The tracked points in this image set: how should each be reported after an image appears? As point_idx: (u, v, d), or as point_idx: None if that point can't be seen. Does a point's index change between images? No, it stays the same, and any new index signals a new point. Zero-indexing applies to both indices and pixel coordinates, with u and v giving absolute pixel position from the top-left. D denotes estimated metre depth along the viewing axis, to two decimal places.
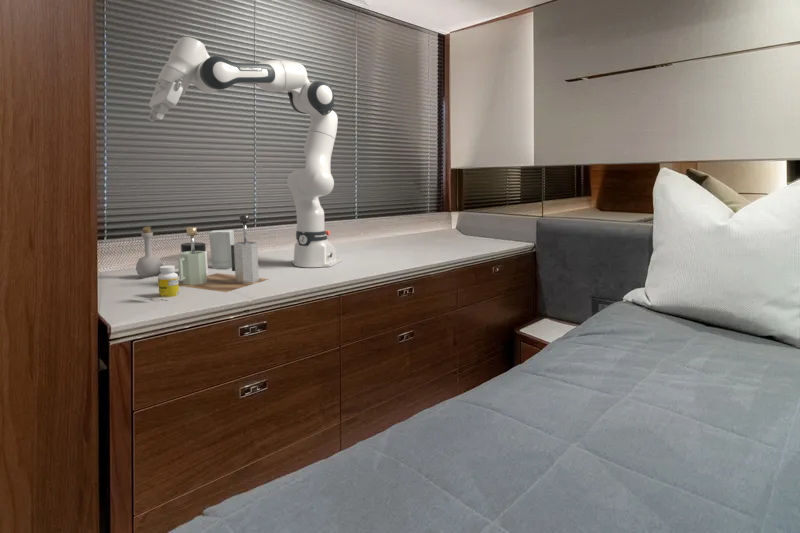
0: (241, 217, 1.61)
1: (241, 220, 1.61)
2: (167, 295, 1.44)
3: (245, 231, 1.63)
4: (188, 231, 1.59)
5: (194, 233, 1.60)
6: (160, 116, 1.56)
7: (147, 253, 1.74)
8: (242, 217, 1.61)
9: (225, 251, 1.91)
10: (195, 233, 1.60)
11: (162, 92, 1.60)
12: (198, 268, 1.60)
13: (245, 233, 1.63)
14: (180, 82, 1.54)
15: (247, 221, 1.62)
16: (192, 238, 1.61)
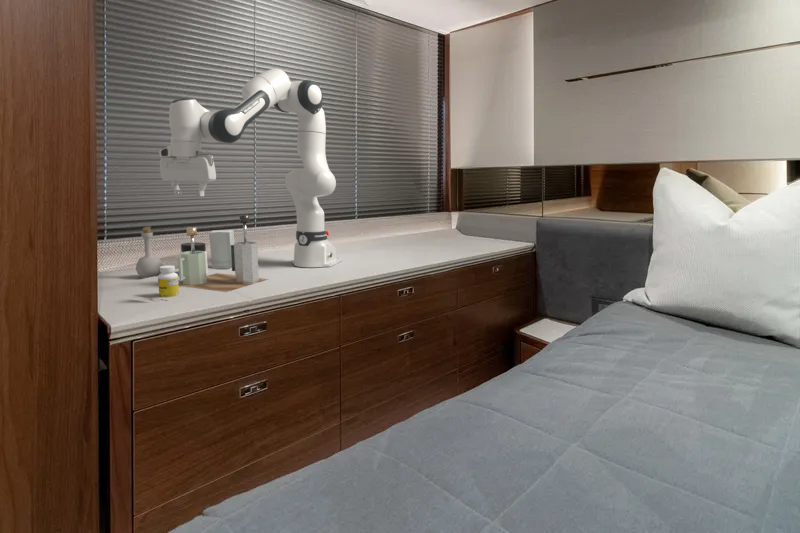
0: (241, 217, 1.61)
1: (241, 220, 1.61)
2: (167, 295, 1.44)
3: (245, 231, 1.63)
4: (188, 231, 1.59)
5: (194, 233, 1.60)
6: (202, 193, 1.56)
7: (147, 253, 1.74)
8: (242, 217, 1.61)
9: (225, 251, 1.91)
10: (195, 233, 1.60)
11: (184, 167, 1.55)
12: (198, 268, 1.60)
13: (245, 233, 1.63)
14: (211, 156, 1.52)
15: (247, 221, 1.62)
16: (192, 238, 1.61)
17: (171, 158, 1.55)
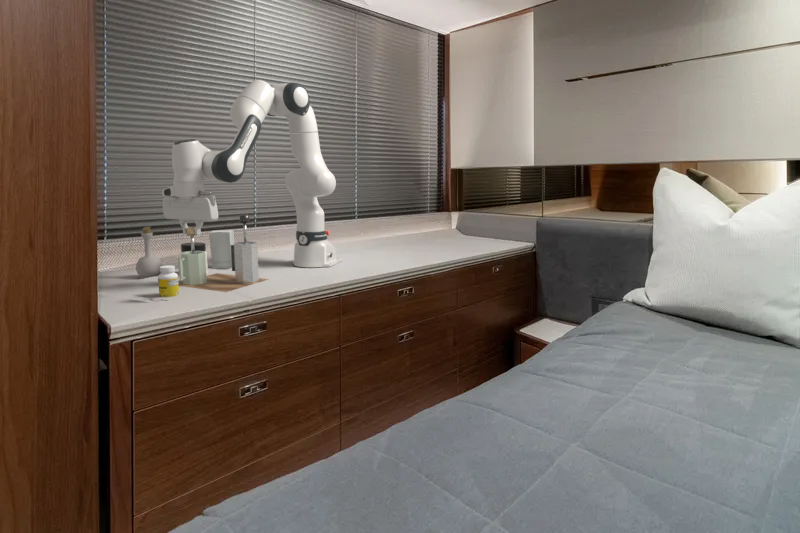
0: (241, 217, 1.61)
1: (241, 220, 1.61)
2: (167, 295, 1.44)
3: (245, 231, 1.63)
4: (188, 231, 1.59)
5: None
6: (199, 232, 1.60)
7: (147, 253, 1.74)
8: (242, 217, 1.61)
9: (225, 251, 1.91)
10: None
11: (187, 206, 1.58)
12: (198, 268, 1.60)
13: (245, 233, 1.63)
14: (214, 196, 1.55)
15: (247, 221, 1.62)
16: (192, 238, 1.61)
17: (174, 198, 1.58)
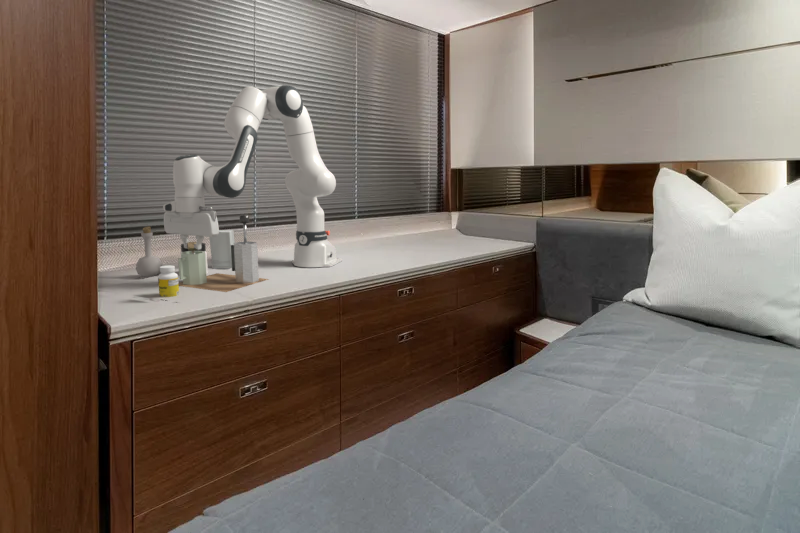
0: (241, 217, 1.61)
1: (241, 220, 1.61)
2: (167, 295, 1.44)
3: (245, 231, 1.63)
4: (189, 246, 1.60)
5: None
6: (199, 247, 1.60)
7: (147, 253, 1.74)
8: (242, 217, 1.61)
9: (225, 251, 1.91)
10: None
11: (188, 221, 1.58)
12: (198, 268, 1.60)
13: (245, 233, 1.63)
14: (215, 212, 1.55)
15: (247, 221, 1.62)
16: (193, 253, 1.62)
17: (175, 213, 1.58)
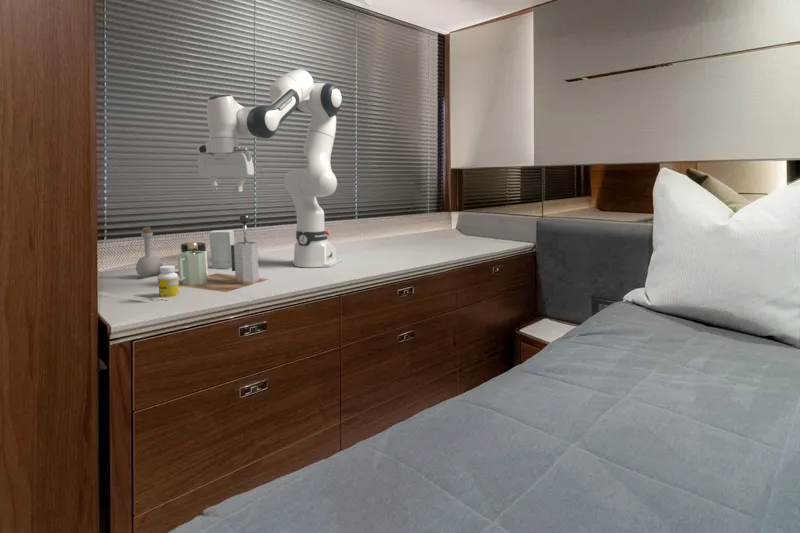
0: (241, 217, 1.61)
1: (241, 220, 1.61)
2: (167, 295, 1.44)
3: (245, 231, 1.63)
4: (189, 246, 1.60)
5: (195, 248, 1.61)
6: (240, 189, 1.58)
7: (147, 253, 1.74)
8: (242, 217, 1.61)
9: (225, 251, 1.91)
10: (196, 248, 1.61)
11: (222, 163, 1.57)
12: (198, 268, 1.60)
13: (245, 233, 1.63)
14: (250, 152, 1.54)
15: (247, 221, 1.62)
16: (193, 253, 1.62)
17: (209, 154, 1.57)
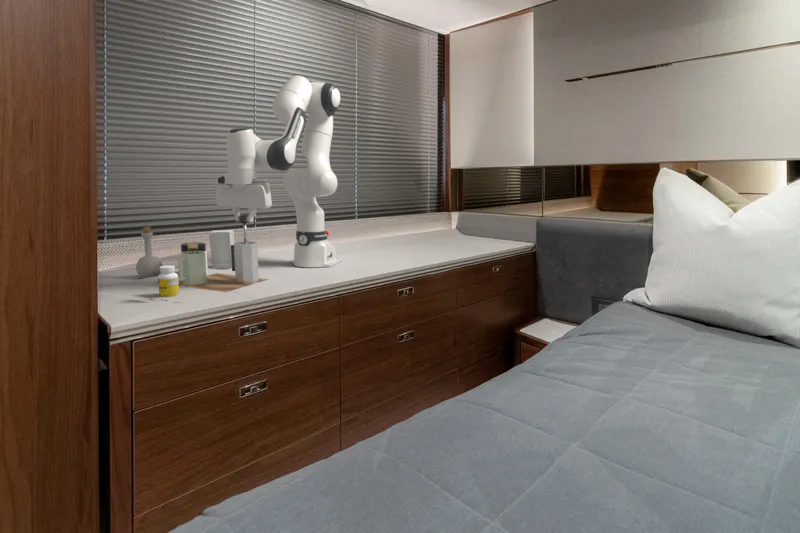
0: (241, 217, 1.61)
1: (241, 220, 1.61)
2: (167, 295, 1.44)
3: (245, 231, 1.63)
4: (189, 246, 1.60)
5: (195, 248, 1.61)
6: (251, 219, 1.62)
7: (147, 253, 1.74)
8: (242, 217, 1.61)
9: (225, 251, 1.91)
10: (196, 248, 1.61)
11: (240, 194, 1.60)
12: (198, 268, 1.60)
13: (245, 233, 1.63)
14: (268, 184, 1.57)
15: None
16: (193, 253, 1.62)
17: (228, 185, 1.60)
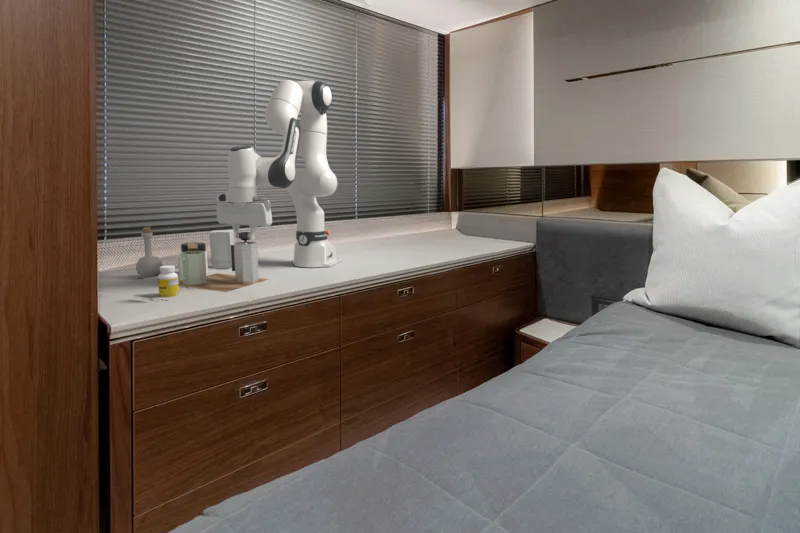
0: (242, 234, 1.62)
1: (242, 237, 1.63)
2: (167, 295, 1.44)
3: None
4: (189, 246, 1.60)
5: (195, 248, 1.61)
6: (253, 237, 1.63)
7: (147, 253, 1.74)
8: (243, 234, 1.62)
9: (225, 251, 1.91)
10: (196, 248, 1.61)
11: (241, 211, 1.61)
12: (198, 268, 1.60)
13: None
14: (269, 202, 1.58)
15: None
16: (193, 253, 1.62)
17: (229, 203, 1.61)
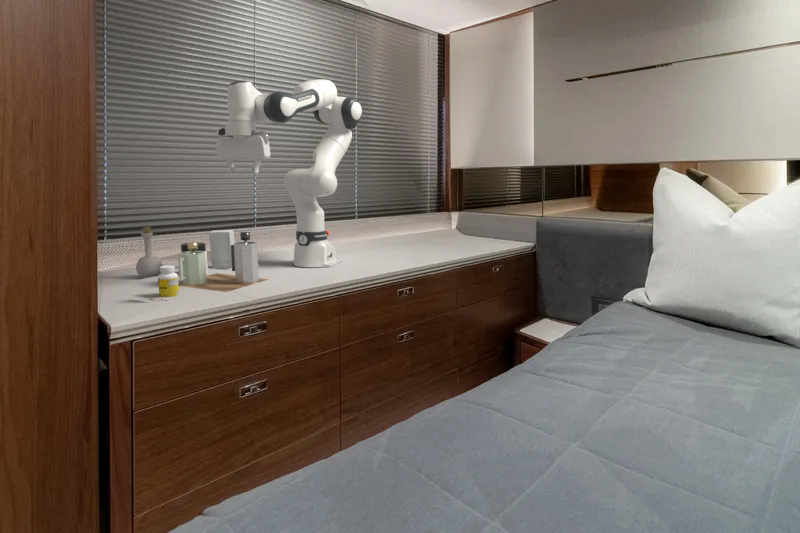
0: (242, 234, 1.62)
1: (242, 237, 1.63)
2: (167, 295, 1.44)
3: None
4: (189, 246, 1.60)
5: (195, 248, 1.61)
6: (257, 170, 1.67)
7: (147, 253, 1.74)
8: (243, 234, 1.62)
9: (225, 251, 1.91)
10: (196, 248, 1.61)
11: (240, 145, 1.66)
12: (198, 268, 1.60)
13: None
14: (267, 135, 1.63)
15: (248, 238, 1.63)
16: (193, 253, 1.62)
17: (228, 137, 1.66)
